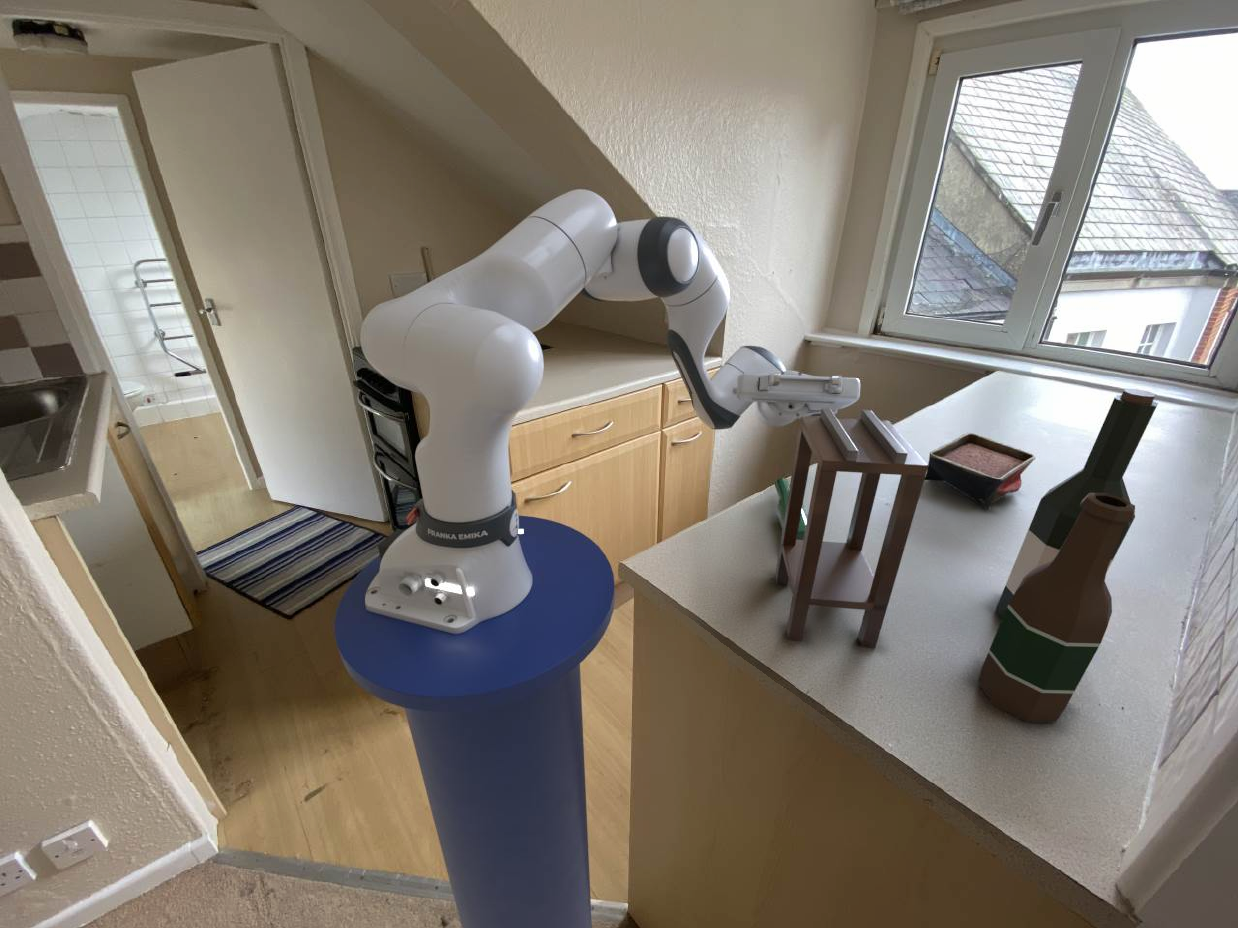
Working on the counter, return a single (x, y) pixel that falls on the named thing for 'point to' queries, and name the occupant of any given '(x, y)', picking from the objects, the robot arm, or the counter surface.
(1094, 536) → the beer bottle
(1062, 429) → the counter surface
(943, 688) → the counter surface
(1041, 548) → the wine bottle
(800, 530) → the green bottle
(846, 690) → the counter surface
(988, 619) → the counter surface
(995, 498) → the baking dish
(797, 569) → the bottle rack
